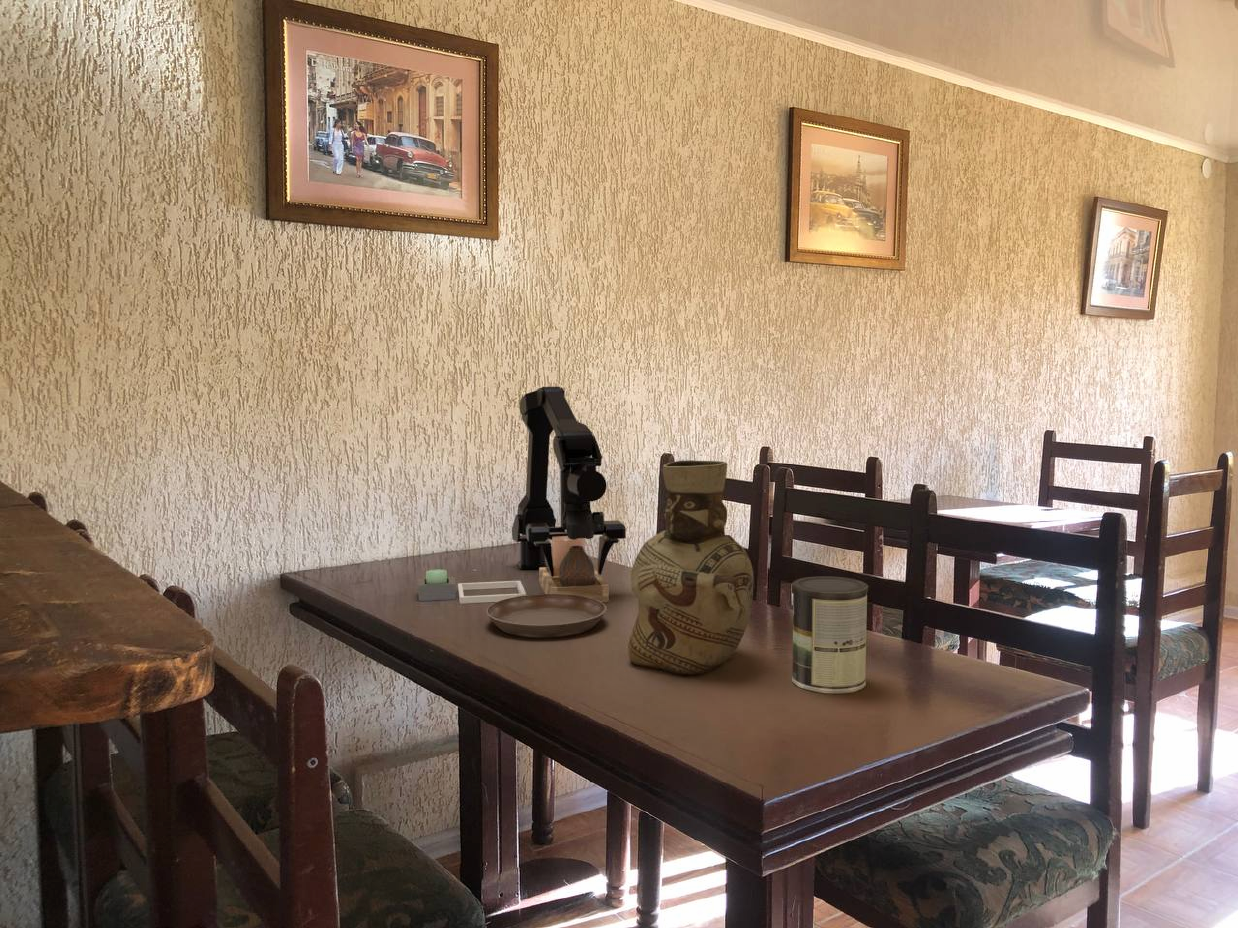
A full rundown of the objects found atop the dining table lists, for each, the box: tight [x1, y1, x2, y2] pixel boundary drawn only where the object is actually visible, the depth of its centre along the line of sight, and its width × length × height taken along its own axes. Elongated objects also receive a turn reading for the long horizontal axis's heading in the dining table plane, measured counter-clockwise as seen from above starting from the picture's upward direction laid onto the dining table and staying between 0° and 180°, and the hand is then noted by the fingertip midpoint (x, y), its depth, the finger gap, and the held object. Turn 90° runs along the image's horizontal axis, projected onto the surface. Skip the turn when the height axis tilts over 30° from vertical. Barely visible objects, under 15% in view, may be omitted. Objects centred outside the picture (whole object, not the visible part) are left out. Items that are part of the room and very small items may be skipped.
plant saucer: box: [486, 593, 607, 638], centre depth 171 cm, size 21×21×3 cm
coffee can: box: [791, 575, 869, 695], centre depth 138 cm, size 10×10×14 cm
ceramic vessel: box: [627, 459, 754, 676], centre depth 148 cm, size 19×21×30 cm
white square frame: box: [457, 580, 527, 605], centre depth 194 cm, size 13×13×1 cm
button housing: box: [417, 576, 457, 602], centre depth 193 cm, size 7×7×3 cm
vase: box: [559, 546, 596, 587], centre depth 190 cm, size 7×7×9 cm
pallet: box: [538, 567, 610, 603], centre depth 196 cm, size 20×11×3 cm, turn 11°
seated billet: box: [551, 536, 586, 576], centre depth 200 cm, size 7×7×9 cm
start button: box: [425, 568, 448, 584], centre depth 192 cm, size 4×4×4 cm
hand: (576, 575), depth 190 cm, fingers open, 9 cm apart
